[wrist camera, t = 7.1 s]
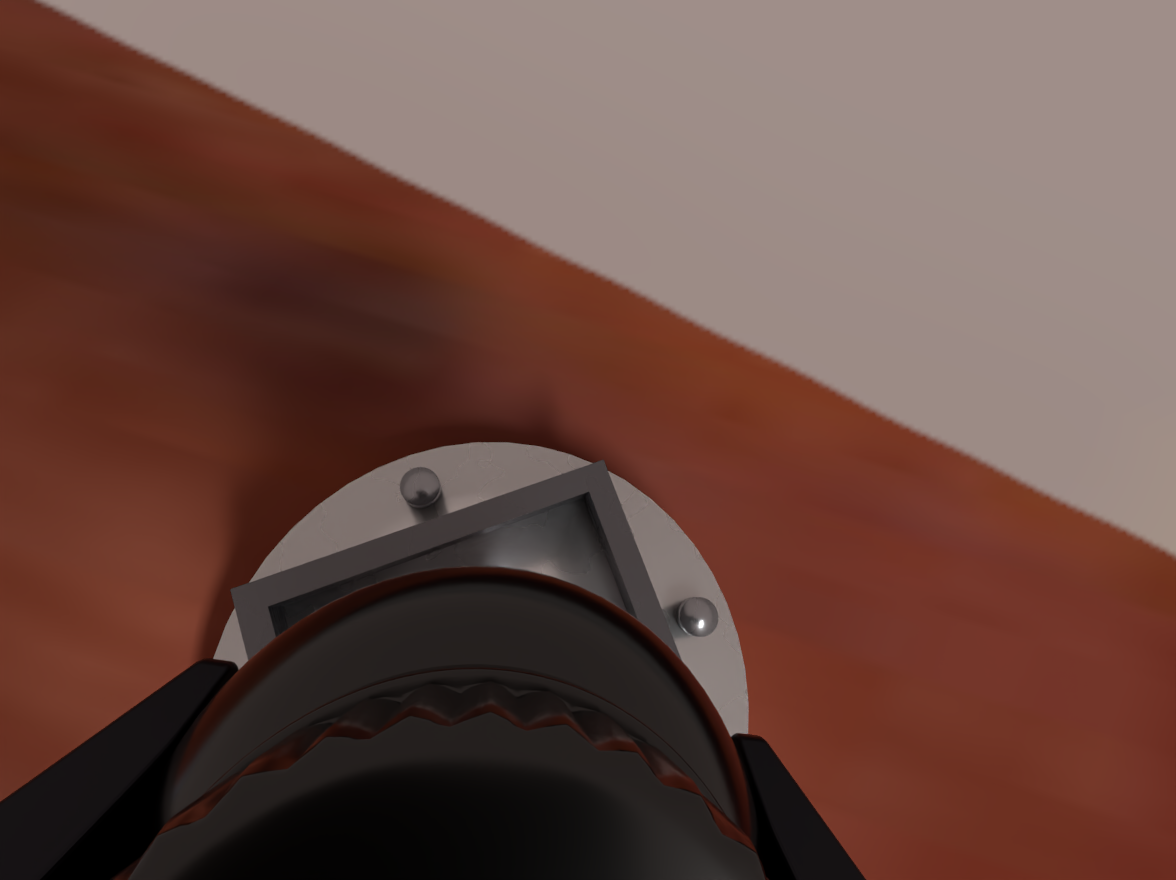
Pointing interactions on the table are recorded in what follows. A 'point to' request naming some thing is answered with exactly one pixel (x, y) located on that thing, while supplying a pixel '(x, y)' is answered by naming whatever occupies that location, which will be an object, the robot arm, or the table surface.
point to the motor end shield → (501, 550)
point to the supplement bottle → (455, 748)
